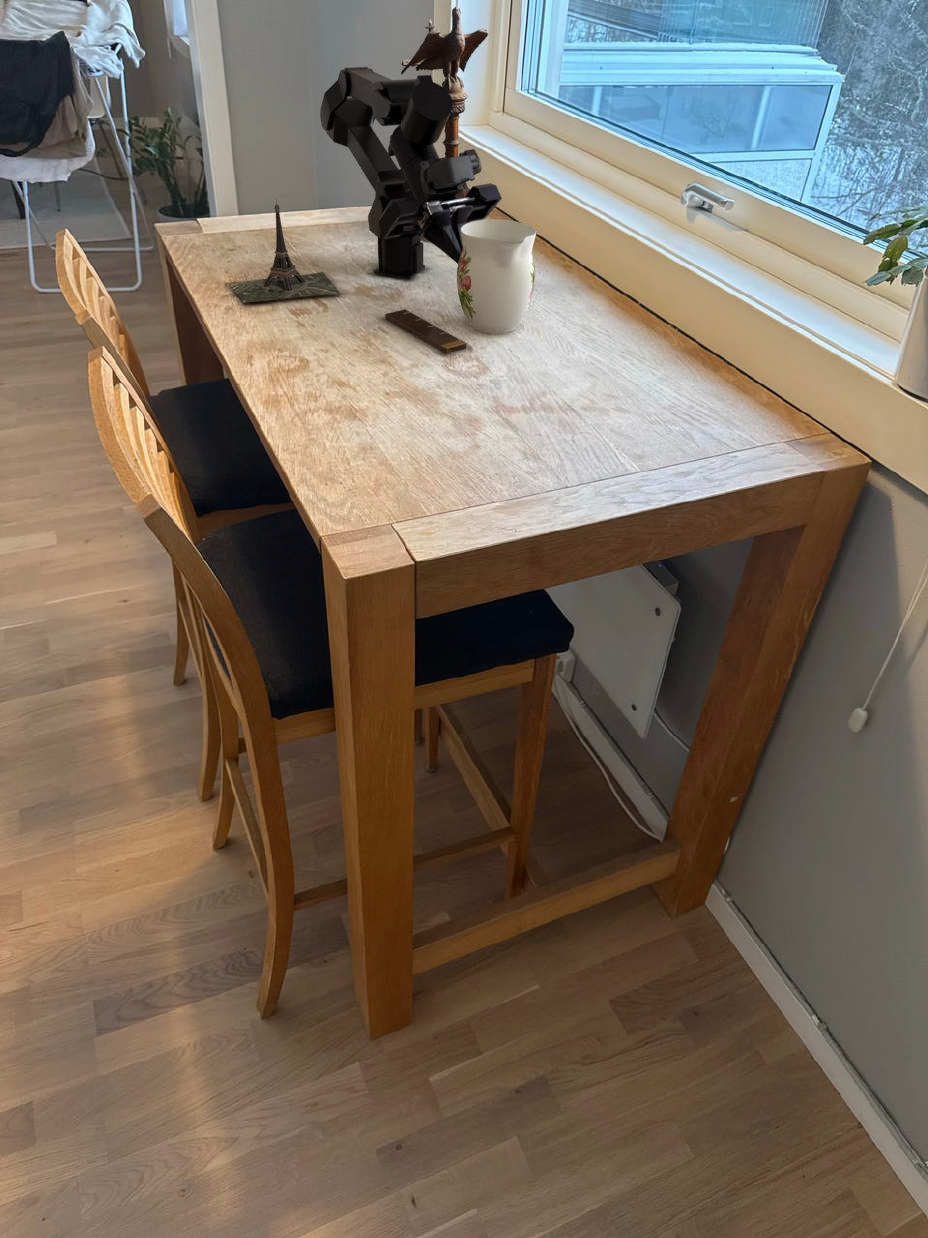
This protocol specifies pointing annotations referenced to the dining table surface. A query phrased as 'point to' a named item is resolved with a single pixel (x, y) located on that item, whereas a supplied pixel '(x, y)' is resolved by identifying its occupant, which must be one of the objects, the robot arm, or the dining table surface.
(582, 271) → the dining table surface
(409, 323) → the ruler
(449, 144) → the bird statue
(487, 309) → the pitcher
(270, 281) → the eiffel tower figurine
